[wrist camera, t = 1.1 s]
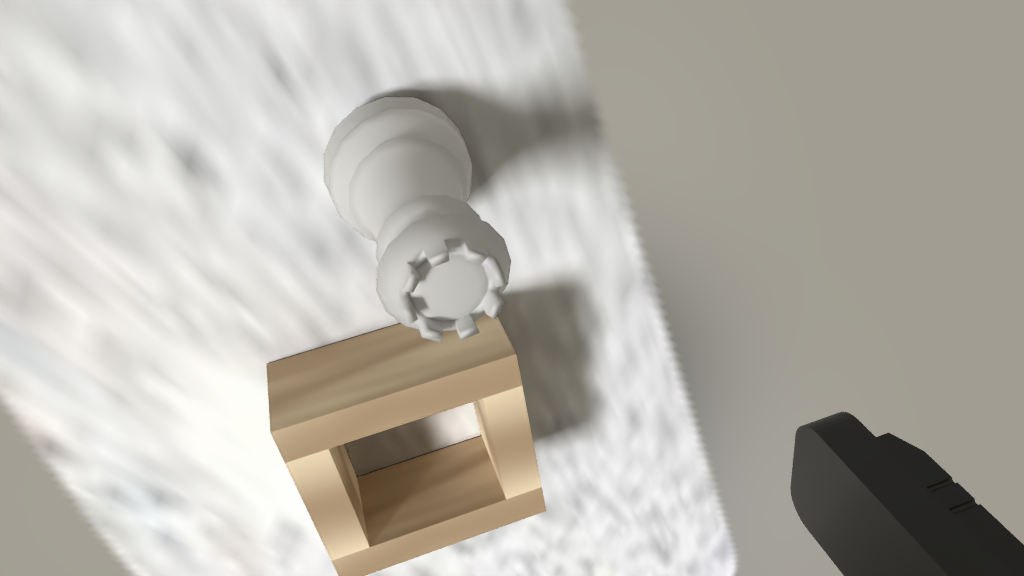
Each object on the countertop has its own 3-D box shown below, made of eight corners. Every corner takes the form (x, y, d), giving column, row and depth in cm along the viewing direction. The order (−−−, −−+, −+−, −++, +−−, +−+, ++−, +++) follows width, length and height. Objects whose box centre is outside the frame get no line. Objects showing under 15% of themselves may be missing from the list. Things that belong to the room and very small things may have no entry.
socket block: (266, 364, 26) (270, 432, 23) (487, 296, 27) (516, 353, 25) (332, 511, 31) (342, 583, 28) (518, 448, 32) (546, 510, 29)
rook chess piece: (491, 142, 24) (584, 266, 18) (409, 248, 25) (468, 400, 19) (377, 60, 22) (436, 169, 15) (291, 180, 23) (314, 329, 17)
